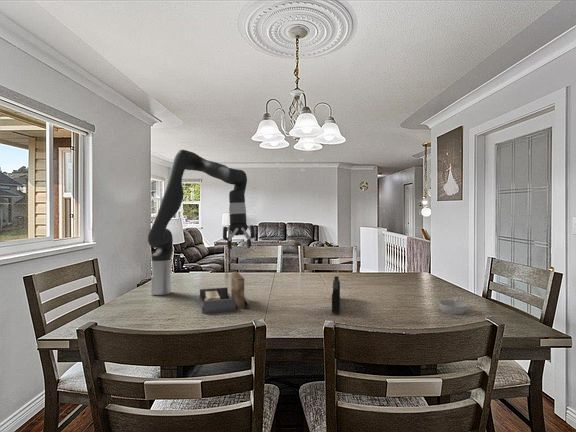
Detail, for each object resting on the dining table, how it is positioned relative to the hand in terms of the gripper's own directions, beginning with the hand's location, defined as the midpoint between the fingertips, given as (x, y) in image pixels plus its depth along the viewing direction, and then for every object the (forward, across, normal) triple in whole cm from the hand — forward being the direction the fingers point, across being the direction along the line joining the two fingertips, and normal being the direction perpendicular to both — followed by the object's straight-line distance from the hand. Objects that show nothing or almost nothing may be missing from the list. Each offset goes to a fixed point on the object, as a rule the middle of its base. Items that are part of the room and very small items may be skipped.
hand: (239, 248), depth 165 cm
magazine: (+28, -37, +20) cm, 50 cm away
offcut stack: (+25, +13, -3) cm, 28 cm away
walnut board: (+25, +2, -2) cm, 25 cm away
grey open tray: (+25, +8, -3) cm, 26 cm away
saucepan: (+30, -80, +45) cm, 97 cm away
